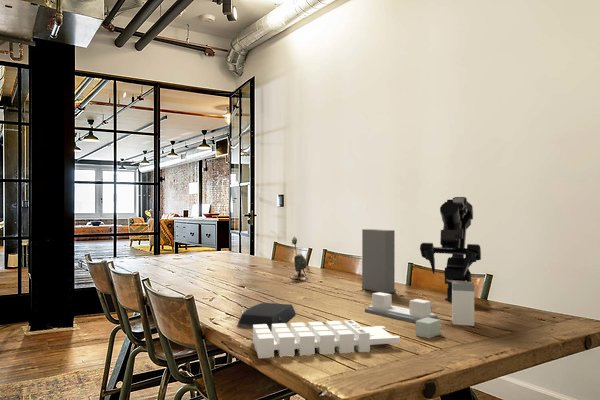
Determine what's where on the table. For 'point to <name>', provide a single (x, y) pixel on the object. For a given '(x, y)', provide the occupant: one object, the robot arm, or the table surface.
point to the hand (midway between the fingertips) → (448, 273)
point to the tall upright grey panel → (378, 260)
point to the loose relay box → (427, 327)
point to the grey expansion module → (463, 303)
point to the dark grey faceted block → (266, 314)
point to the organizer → (318, 338)
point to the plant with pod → (299, 264)
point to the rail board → (400, 308)
